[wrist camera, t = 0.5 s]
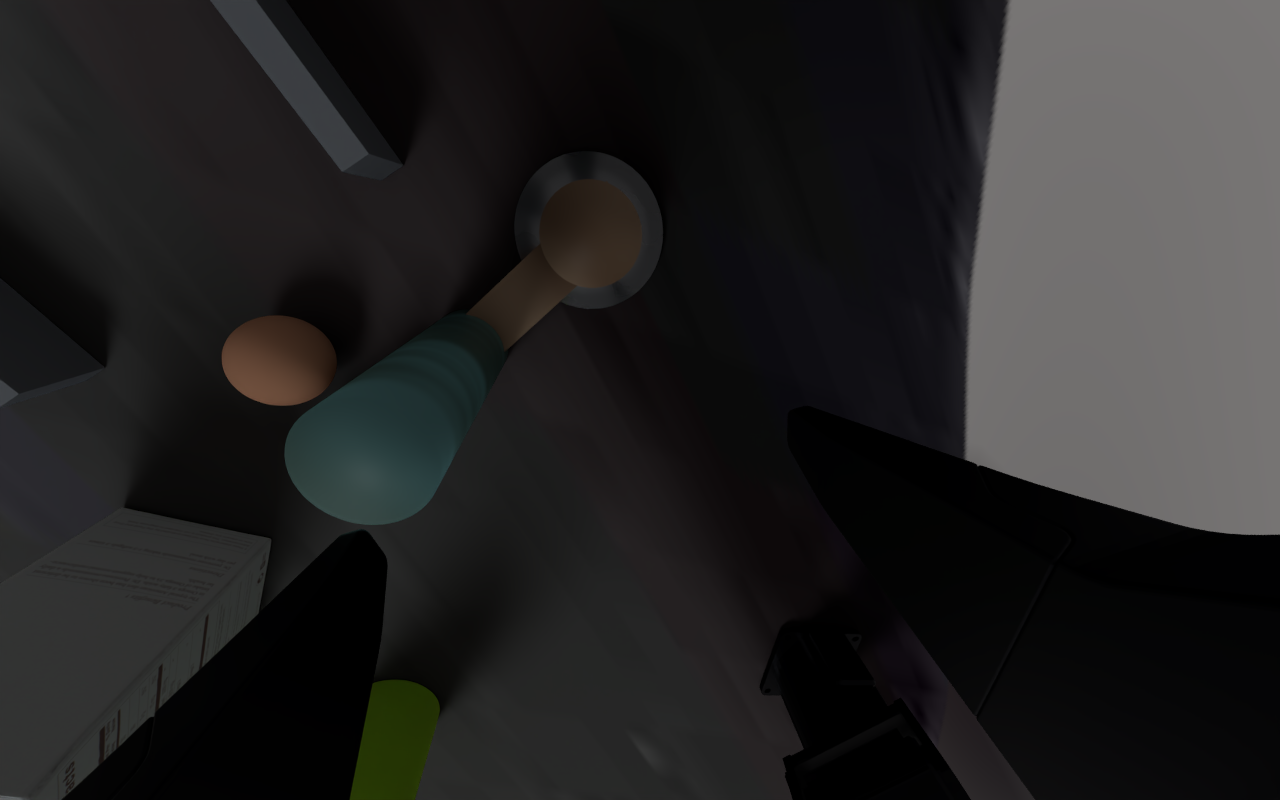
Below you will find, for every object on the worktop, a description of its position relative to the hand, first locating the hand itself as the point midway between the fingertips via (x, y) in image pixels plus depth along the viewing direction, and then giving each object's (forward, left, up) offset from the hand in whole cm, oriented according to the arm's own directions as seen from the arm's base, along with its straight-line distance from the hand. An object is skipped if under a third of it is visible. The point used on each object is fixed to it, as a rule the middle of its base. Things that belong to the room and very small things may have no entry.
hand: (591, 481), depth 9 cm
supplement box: (-17, +20, -15) cm, 30 cm away
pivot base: (+5, 0, -15) cm, 16 cm away
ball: (-3, +13, -13) cm, 19 cm away
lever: (-1, +5, -15) cm, 15 cm away
